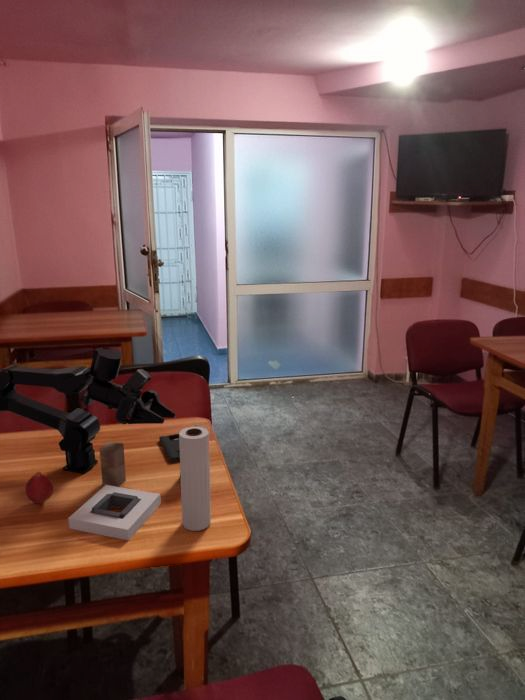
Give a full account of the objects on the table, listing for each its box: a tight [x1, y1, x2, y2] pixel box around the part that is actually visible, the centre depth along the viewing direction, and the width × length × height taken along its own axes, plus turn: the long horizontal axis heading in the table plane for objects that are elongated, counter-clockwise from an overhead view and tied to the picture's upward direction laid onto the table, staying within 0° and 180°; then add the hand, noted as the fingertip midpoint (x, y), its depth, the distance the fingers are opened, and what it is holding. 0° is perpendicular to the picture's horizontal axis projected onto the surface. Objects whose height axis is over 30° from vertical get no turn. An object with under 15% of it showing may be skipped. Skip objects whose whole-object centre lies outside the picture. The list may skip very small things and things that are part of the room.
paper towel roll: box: [178, 422, 212, 532], centre depth 109 cm, size 7×6×21 cm
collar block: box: [68, 485, 161, 541], centre depth 113 cm, size 14×14×3 cm
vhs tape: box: [158, 433, 180, 464], centre depth 145 cm, size 14×8×2 cm, turn 23°
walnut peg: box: [99, 441, 127, 487], centre depth 125 cm, size 4×4×10 cm
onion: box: [25, 471, 54, 505], centre depth 117 cm, size 6×6×8 cm
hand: (169, 418), depth 126 cm, fingers open, 9 cm apart
